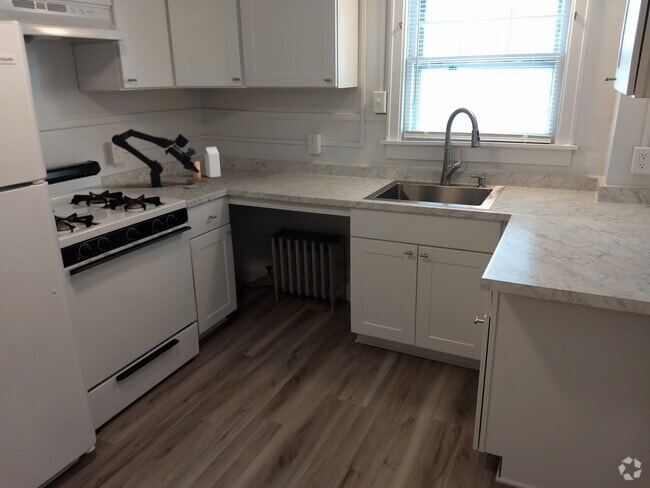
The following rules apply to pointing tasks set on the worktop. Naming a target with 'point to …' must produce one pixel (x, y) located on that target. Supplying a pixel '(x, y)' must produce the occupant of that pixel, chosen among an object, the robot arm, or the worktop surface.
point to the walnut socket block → (197, 182)
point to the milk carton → (212, 162)
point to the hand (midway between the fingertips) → (198, 171)
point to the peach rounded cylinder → (196, 175)
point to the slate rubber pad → (192, 186)
